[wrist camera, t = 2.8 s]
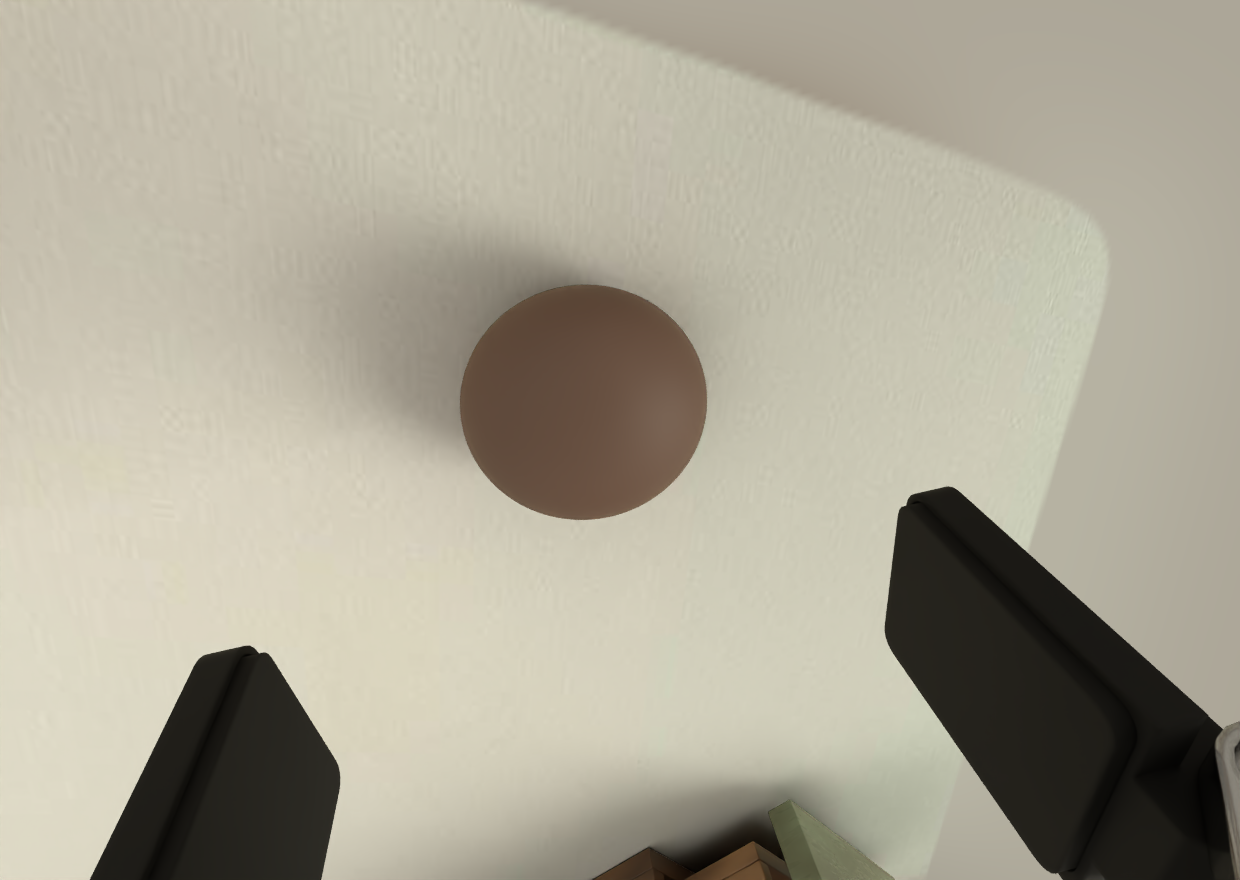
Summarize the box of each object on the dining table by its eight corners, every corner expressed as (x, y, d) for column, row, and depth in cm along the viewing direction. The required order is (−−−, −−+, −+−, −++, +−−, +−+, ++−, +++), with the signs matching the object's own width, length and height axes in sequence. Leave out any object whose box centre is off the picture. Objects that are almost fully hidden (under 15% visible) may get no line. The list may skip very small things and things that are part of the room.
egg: (423, 312, 16) (401, 382, 12) (649, 227, 16) (691, 275, 12) (518, 494, 19) (522, 591, 15) (706, 425, 19) (753, 507, 15)
